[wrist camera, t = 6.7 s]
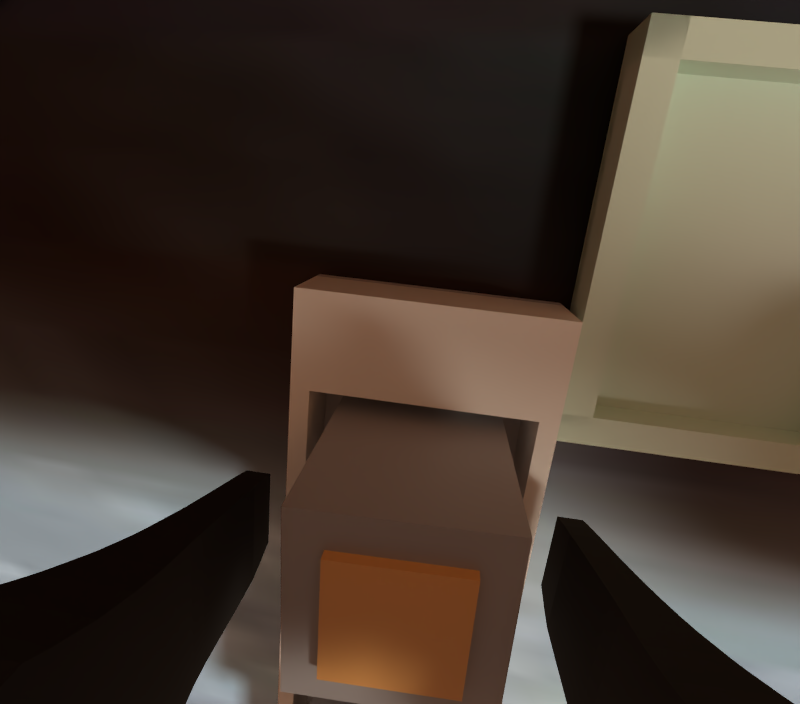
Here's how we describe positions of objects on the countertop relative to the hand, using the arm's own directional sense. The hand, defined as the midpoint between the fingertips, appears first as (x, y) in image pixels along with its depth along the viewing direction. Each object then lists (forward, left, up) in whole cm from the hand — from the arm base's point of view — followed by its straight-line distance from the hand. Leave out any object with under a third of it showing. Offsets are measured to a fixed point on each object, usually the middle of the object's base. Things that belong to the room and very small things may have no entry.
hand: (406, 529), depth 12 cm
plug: (0, 0, -3) cm, 3 cm away
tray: (-7, -7, -3) cm, 11 cm away
